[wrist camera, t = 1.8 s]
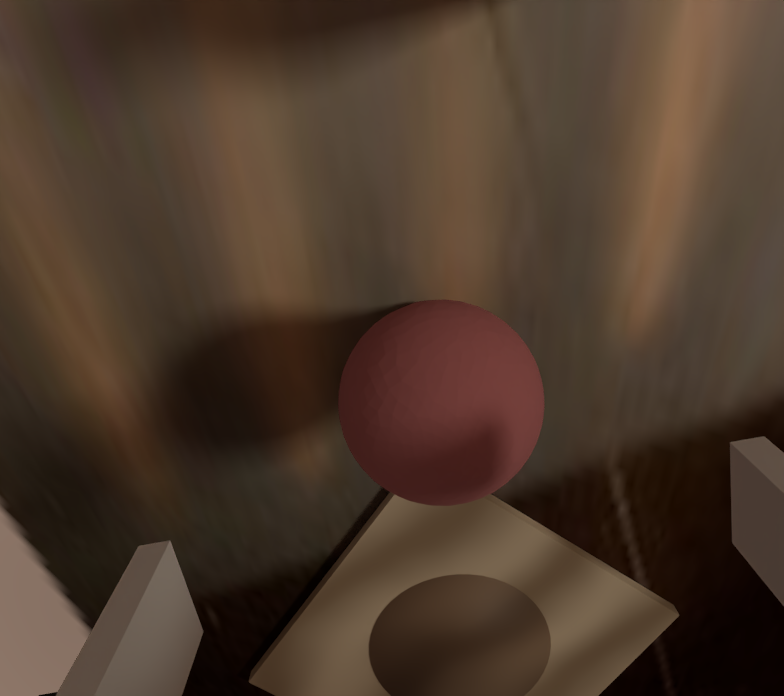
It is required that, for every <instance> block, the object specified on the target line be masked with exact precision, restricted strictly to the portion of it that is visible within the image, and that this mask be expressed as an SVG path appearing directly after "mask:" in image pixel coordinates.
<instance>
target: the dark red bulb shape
mask: <svg viewBox="0 0 784 696" xmlns="http://www.w3.org/2000/svg"><path fill="white" fill-rule="evenodd" d="M338 409H339V418H340V423H341V427H342V431H343V435H344V438H345V440H346V442H347V445H348V447H349V449H350V451H351V453H352V455H353V456H354V458H355V459H356V461H357V462H358V463H359V465H360V466H361V467H362V469H363V470H364V471H365V472H366V473H367V474H368V475H369V476H370V477H371V478H372V479H373V480H374V481H375V482H376V483H378V484H379V485H380V486H382V487H383V488H385V489H386V490H387V491H389V492H391V493H393V494H395V495H397V496H399V497H401V498H404V499H406V500H409V501H412V502H416V503H420V504H425V505H431V506H452V505H458V504H464V503H468V502H472V501H475V500H477V499H480V498H483V497H485V496H487V495H489V494H491V493H493V492H495V491H496V490H497V489H499V488H500V487H502V486H503V485H505V484H506V483H507V482H508V481H509V480H510V479H511V478H513V477H514V476H515V475H516V474H517V473H518V472H519V471H520V469H521V468H522V467H523V465H524V464H525V462H526V461H527V460H528V458H529V457H530V455H531V453H532V451H533V449H534V447H535V445H536V443H537V440H538V437H539V434H540V430H541V427H542V423H543V415H544V391H543V385H542V380H541V377H540V373H539V370H538V367H537V364H536V362H535V359H534V358H533V356H532V354H531V352H530V351H529V349H528V347H527V345H526V344H525V343H524V341H523V340H522V339H521V338H520V336H519V335H518V334H517V333H516V332H515V331H514V330H513V329H512V328H511V327H510V326H509V325H507V324H506V323H505V322H504V321H503V320H501V319H500V318H498V317H497V316H495V315H493V314H492V313H490V312H489V311H486V310H484V309H482V308H480V307H478V306H474V305H471V304H467V303H464V302H460V301H452V300H429V301H420V302H415V303H412V304H409V305H407V306H405V307H402V308H400V309H397V310H395V311H393V312H391V313H390V314H388V315H386V316H385V317H383V318H382V319H380V320H379V321H378V322H376V323H375V324H374V325H373V326H372V327H371V328H370V329H369V330H368V331H367V332H366V333H365V334H364V335H363V336H362V337H361V339H360V340H359V341H358V343H357V344H356V346H355V347H354V349H353V351H352V352H351V354H350V356H349V358H348V360H347V362H346V365H345V367H344V369H343V373H342V377H341V381H340V388H339V400H338Z"/></svg>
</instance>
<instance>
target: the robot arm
mask: <svg viewBox="0 0 784 696" xmlns="http://www.w3.org/2000/svg"><path fill="white" fill-rule="evenodd" d="M730 467H731V514H732V543H733V544H734V546H735V547H736V548H737V549H738V551H739V552H740V553H741V554H742V556H743V557H744V558H745V559H746V560H747V562H748V563H749V564H750V565H751V567H752V568H753V569H754V570H755V572H756V573H757V574H758V575H759V576H760V578H761V579H762V580H763V581H764V583H765V584H766V585H767V586H768V587H769V589H770V590H771V591H772V592H773V594H774V595H775V596H776V597H777V599H778V600H779V601H780V602H781V603H782V605H783V606H784V453H783V452H782V451H781V450H780V449H778V448H777V447H776V446H775V445H774V444H773V443H771V442H770V441H769V440H768V439H767V438H766V437H764V436H763V437H757V438H752V439H746V440H740V441H735V442H730ZM202 634H203V629H202V627H201V624H200V621H199V618H198V616H197V613H196V610H195V607H194V605H193V602H192V599H191V596H190V594H189V591H188V588H187V585H186V583H185V580H184V577H183V574H182V572H181V569H180V566H179V563H178V561H177V558H176V555H175V553H174V550H173V547H172V544H171V542H170V541H165V542H159V543H153V544H147V545H142V546H139V547H138V548H137V550H136V552H135V554H134V556H133V557H132V559H131V561H130V563H129V565H128V566H127V568H126V570H125V572H124V574H123V575H122V577H121V579H120V581H119V583H118V585H117V586H116V588H115V590H114V592H113V594H112V595H111V597H110V599H109V601H108V603H107V604H106V606H105V608H104V610H103V612H102V613H101V615H100V617H99V619H98V621H97V622H96V624H95V626H94V628H93V630H92V631H91V633H90V635H89V637H88V639H87V640H86V642H85V644H84V646H83V648H82V649H81V651H80V653H79V655H78V657H77V658H76V660H75V662H74V664H73V666H72V667H71V669H70V671H69V673H68V675H67V676H66V678H65V680H64V682H63V684H62V685H61V687H60V689H59V691H58V692H56V693H50V694H44V695H39V696H182V693H183V690H184V687H185V684H186V681H187V678H188V675H189V672H190V669H191V667H192V664H193V661H194V658H195V655H196V652H197V649H198V646H199V643H200V640H201V637H202Z"/></svg>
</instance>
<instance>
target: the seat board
mask: <svg viewBox="0 0 784 696" xmlns="http://www.w3.org/2000/svg"><path fill="white" fill-rule="evenodd" d="M678 616H679V614H678V612H677V610H676V608H675V607H674V605H673V604H671V603H669V602H668V601H666V600H664V599H663V598H661V597H659V596H658V595H656V594H655V593H653V592H651V591H650V590H648V589H646V588H645V587H643V586H641V585H640V584H638V583H636V582H635V581H633V580H631V579H630V578H628V577H627V576H625V575H623V574H622V573H620V572H618V571H617V570H615V569H613V568H612V567H610V566H608V565H607V564H605V563H603V562H602V561H600V560H599V559H597V558H595V557H594V556H592V555H590V554H589V553H587V552H585V551H584V550H582V549H580V548H579V547H577V546H575V545H574V544H572V543H570V542H569V541H567V540H566V539H564V538H562V537H561V536H559V535H557V534H556V533H554V532H552V531H551V530H549V529H547V528H546V527H544V526H542V525H541V524H539V523H538V522H536V521H534V520H533V519H531V518H529V517H528V516H526V515H524V514H523V513H521V512H519V511H518V510H516V509H514V508H513V507H511V506H510V505H508V504H506V503H505V502H503V501H501V500H500V499H498V498H496V497H495V496H493V495H491V494H489V495H487V496H485V497H483V498H480V499H477V500H475V501H472V502H468V503H464V504H458V505H452V506H431V505H425V504H420V503H416V502H412V501H409V500H406V499H404V498H401V497H399V496H397V495H395V494H393V493H391V492H390V493H389V494H388V495H387V496H386V498H385V499H384V500H383V502H382V503H381V504H380V505H379V507H378V508H377V509H376V511H375V512H374V513H373V514H372V516H371V517H370V518H369V520H368V521H367V522H366V524H365V525H364V526H363V527H362V529H361V530H360V531H359V533H358V534H357V535H356V536H355V538H354V539H353V540H352V542H351V543H350V544H349V545H348V547H347V548H346V549H345V551H344V552H343V553H342V554H341V556H340V557H339V558H338V560H337V561H336V562H335V564H334V565H333V566H332V567H331V569H330V570H329V571H328V573H327V574H326V575H325V576H324V578H323V579H322V580H321V582H320V583H319V584H318V585H317V587H316V588H315V589H314V591H313V592H312V593H311V594H310V596H309V597H308V598H307V600H306V601H305V602H304V604H303V605H302V606H301V607H300V609H299V610H298V611H297V613H296V614H295V615H294V616H293V618H292V619H291V620H290V622H289V623H288V624H287V625H286V627H285V628H284V629H283V631H282V632H281V633H280V635H279V636H278V637H277V638H276V640H275V641H274V642H273V644H272V645H271V646H270V647H269V649H268V650H267V651H266V653H265V654H264V655H263V656H262V658H261V659H260V660H259V662H258V663H257V664H256V665H255V667H254V668H253V669H252V671H251V674H250V678H249V683H251V684H253V685H255V686H257V687H259V688H261V689H263V690H265V691H267V692H269V693H271V694H273V695H275V696H598V695H599V694H600V693H601V692H602V691H603V690H604V689H605V688H606V687H608V686H609V685H610V684H611V683H612V682H613V681H614V680H615V679H616V678H617V677H618V676H619V675H620V674H621V673H622V672H623V671H624V670H625V669H626V668H627V667H628V666H629V665H630V664H631V663H632V662H633V661H634V660H635V659H636V658H637V657H638V656H639V655H640V654H641V653H642V652H643V651H644V650H645V649H646V648H647V647H648V646H649V645H650V644H651V643H652V642H653V641H654V640H655V639H656V638H657V637H658V636H659V635H660V634H661V633H662V632H663V631H664V630H665V629H666V628H667V627H668V626H669V625H670V624H671V623H672V622H673V621H674V620H675V619H676V618H677V617H678Z"/></svg>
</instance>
